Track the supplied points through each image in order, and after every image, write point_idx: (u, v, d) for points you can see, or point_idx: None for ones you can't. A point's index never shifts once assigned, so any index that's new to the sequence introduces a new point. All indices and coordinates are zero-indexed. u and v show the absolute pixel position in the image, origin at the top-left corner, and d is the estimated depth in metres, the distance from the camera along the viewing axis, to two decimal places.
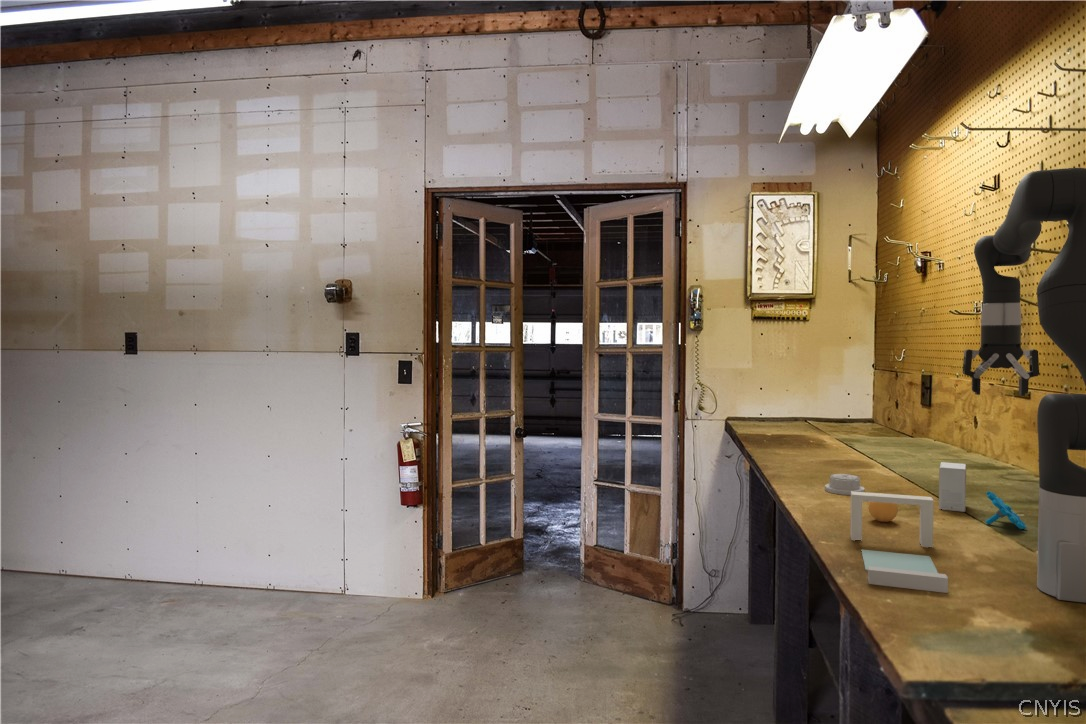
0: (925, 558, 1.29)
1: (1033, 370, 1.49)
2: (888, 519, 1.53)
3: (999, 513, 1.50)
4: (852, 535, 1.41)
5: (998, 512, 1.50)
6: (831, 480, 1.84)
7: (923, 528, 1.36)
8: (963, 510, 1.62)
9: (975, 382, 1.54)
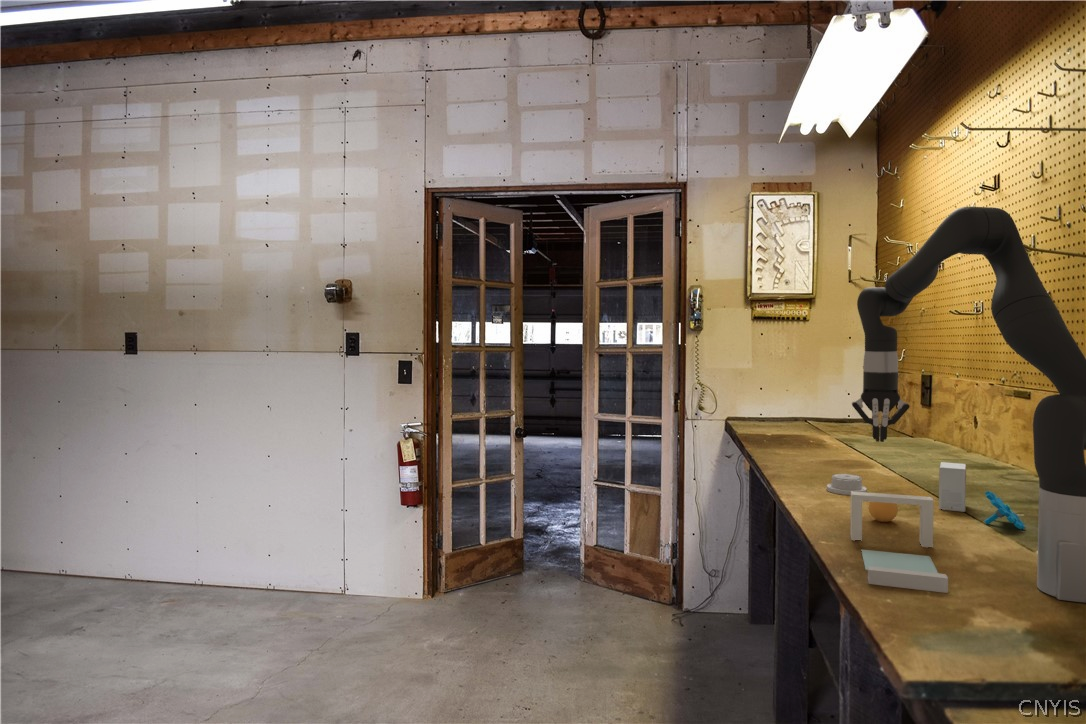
0: (925, 558, 1.29)
1: (893, 418, 1.61)
2: (888, 519, 1.53)
3: (998, 513, 1.50)
4: (852, 535, 1.41)
5: (997, 512, 1.50)
6: (833, 480, 1.84)
7: (923, 528, 1.36)
8: (963, 510, 1.62)
9: (875, 430, 1.63)
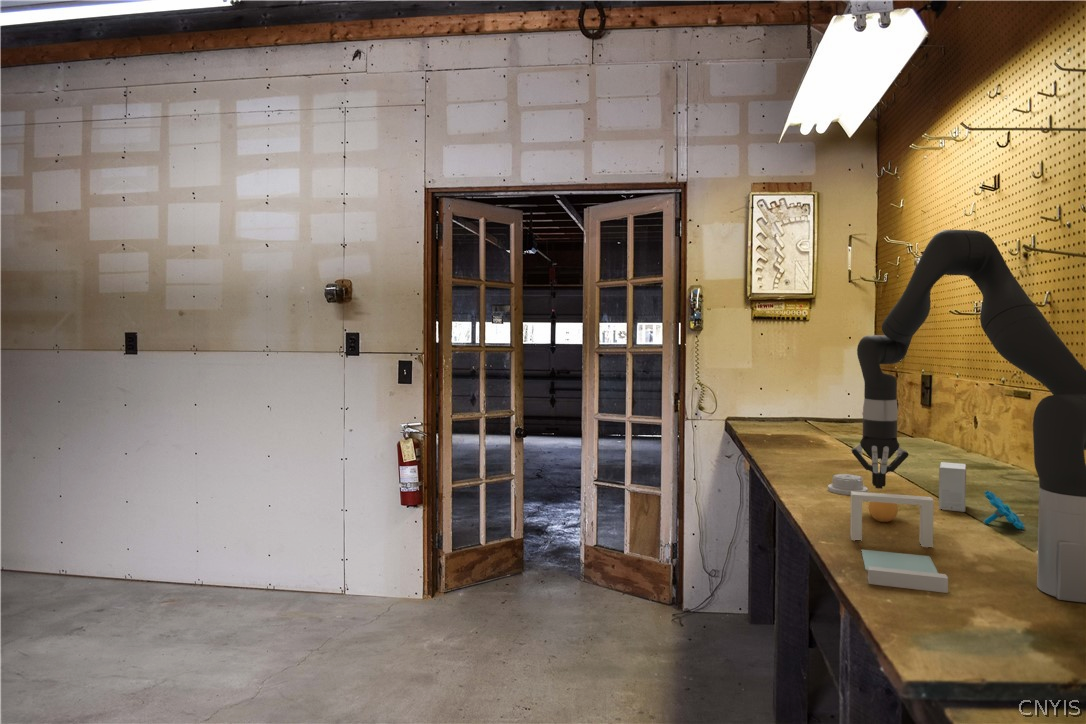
0: (925, 558, 1.29)
1: (892, 465, 1.62)
2: (888, 519, 1.53)
3: (997, 513, 1.50)
4: (852, 535, 1.41)
5: (996, 512, 1.50)
6: (834, 480, 1.84)
7: (923, 528, 1.36)
8: (963, 510, 1.62)
9: (874, 476, 1.64)
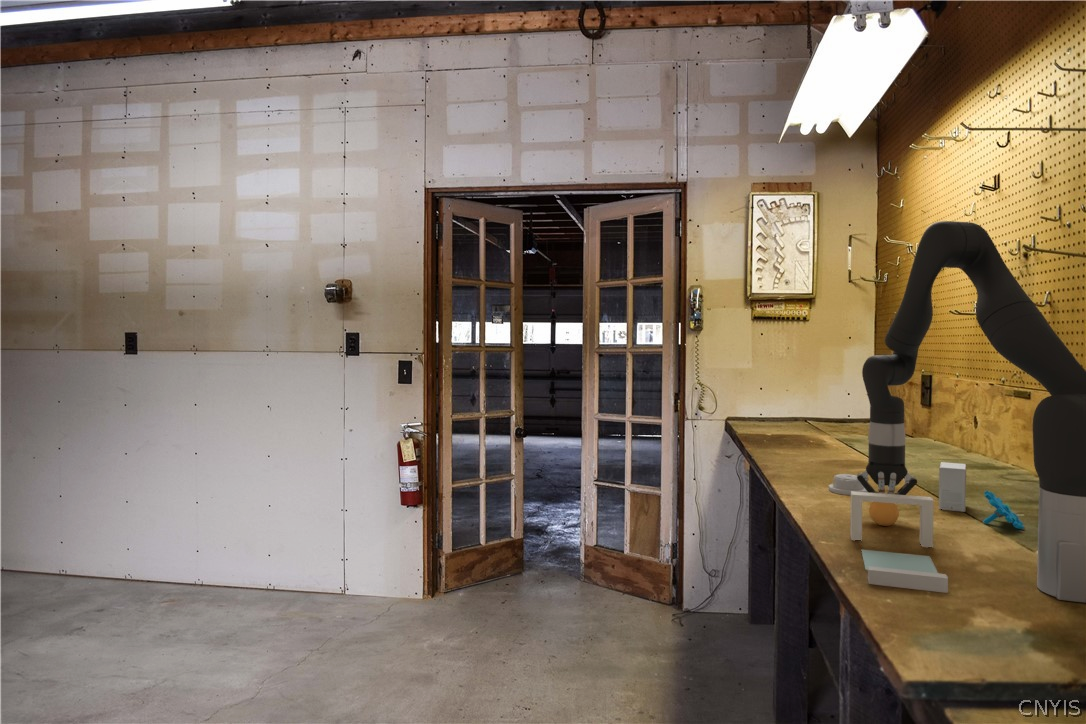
0: (925, 558, 1.29)
1: (900, 493, 1.53)
2: None
3: (997, 513, 1.50)
4: (852, 535, 1.41)
5: (996, 512, 1.50)
6: (835, 480, 1.84)
7: (923, 528, 1.36)
8: (963, 510, 1.62)
9: None
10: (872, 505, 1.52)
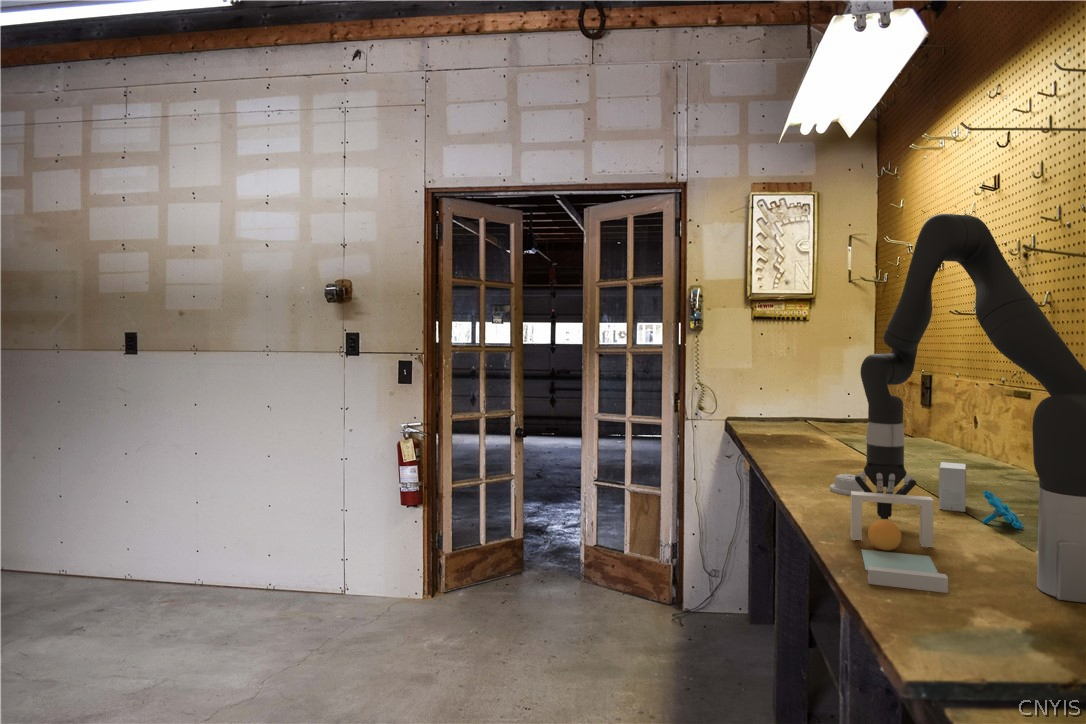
0: (925, 558, 1.29)
1: (898, 494, 1.50)
2: None
3: (996, 512, 1.50)
4: (852, 535, 1.41)
5: (995, 511, 1.51)
6: (836, 480, 1.84)
7: (923, 528, 1.36)
8: (963, 510, 1.62)
9: (880, 506, 1.52)
10: (871, 526, 1.35)
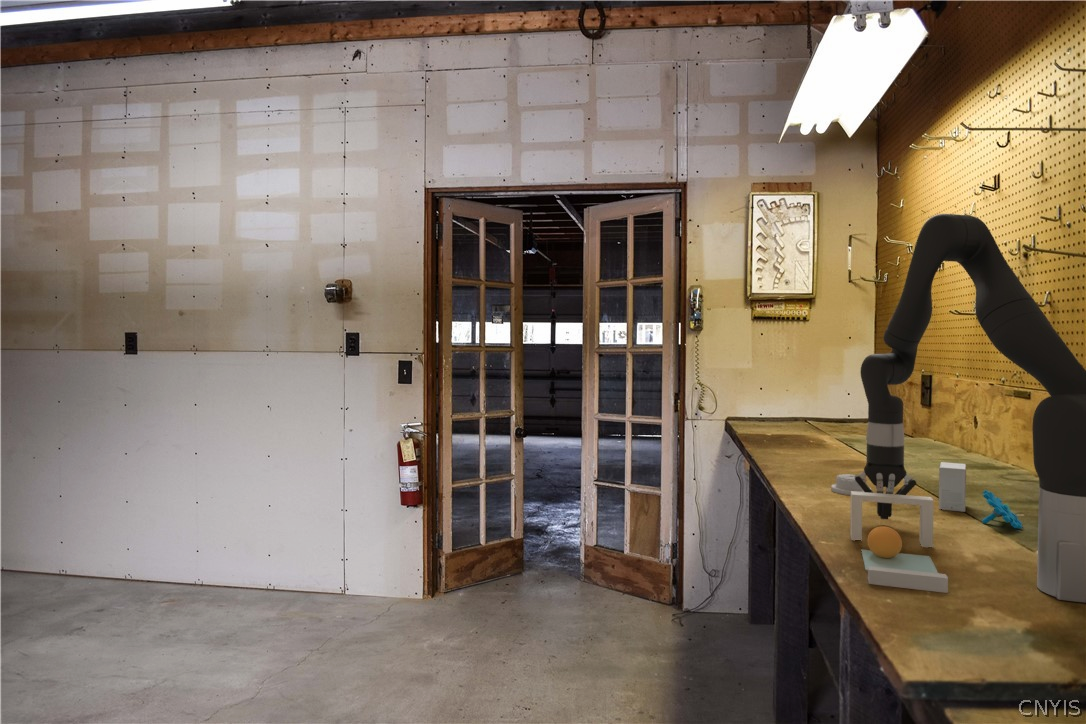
0: (925, 558, 1.29)
1: (898, 494, 1.50)
2: None
3: (995, 512, 1.50)
4: (852, 535, 1.41)
5: (994, 511, 1.51)
6: (837, 480, 1.84)
7: (923, 528, 1.36)
8: (963, 510, 1.62)
9: (880, 506, 1.52)
10: (871, 548, 1.30)
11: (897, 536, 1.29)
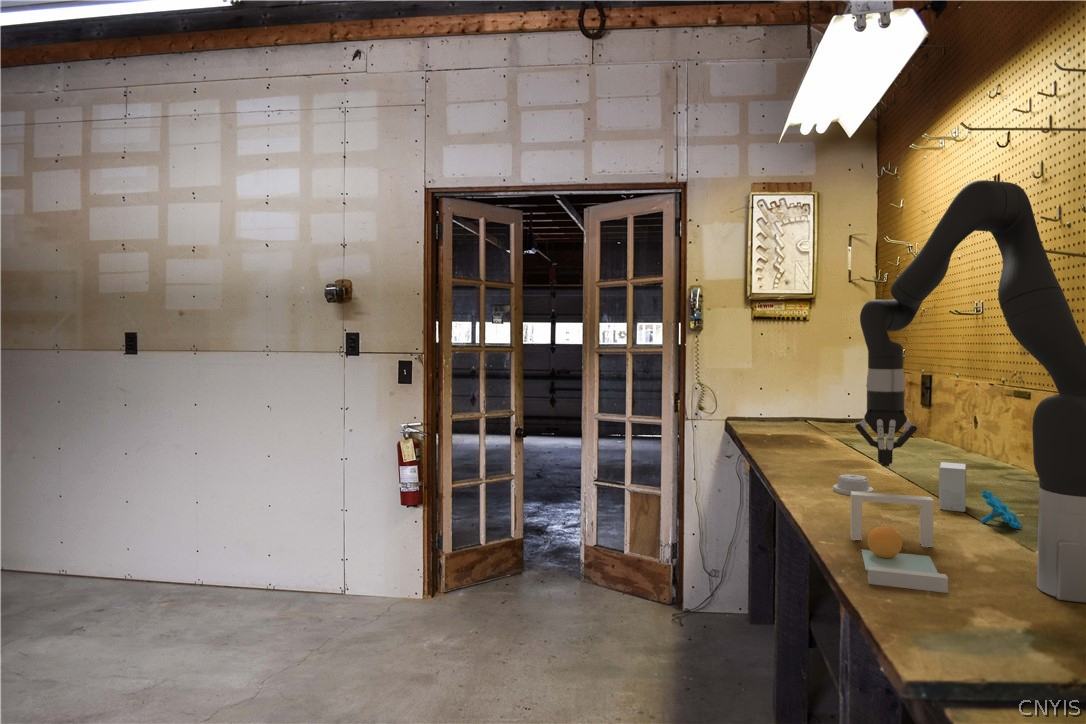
0: (925, 558, 1.29)
1: (899, 441, 1.49)
2: None
3: (994, 512, 1.51)
4: (852, 535, 1.41)
5: (993, 511, 1.51)
6: (839, 480, 1.83)
7: (923, 528, 1.36)
8: (963, 510, 1.62)
9: (880, 453, 1.51)
10: (871, 548, 1.30)
11: (897, 536, 1.29)
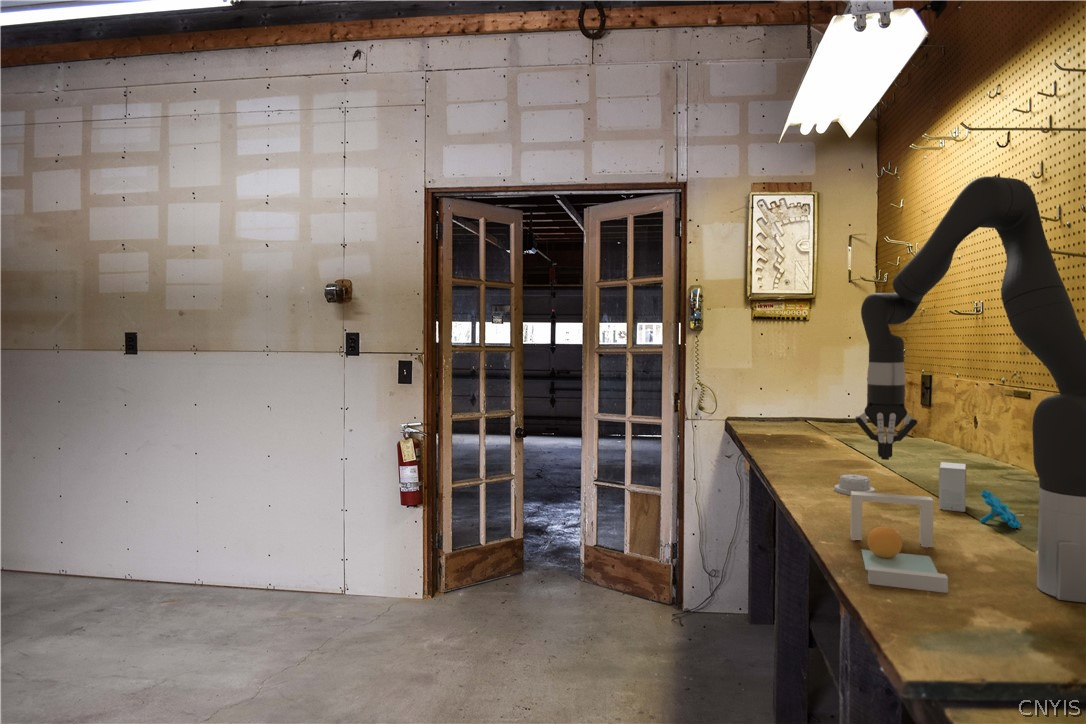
0: (925, 558, 1.29)
1: (899, 434, 1.49)
2: None
3: (993, 512, 1.51)
4: (852, 535, 1.41)
5: (992, 511, 1.51)
6: (841, 481, 1.83)
7: (923, 528, 1.36)
8: (963, 510, 1.62)
9: (880, 447, 1.51)
10: (871, 548, 1.30)
11: (897, 536, 1.29)
